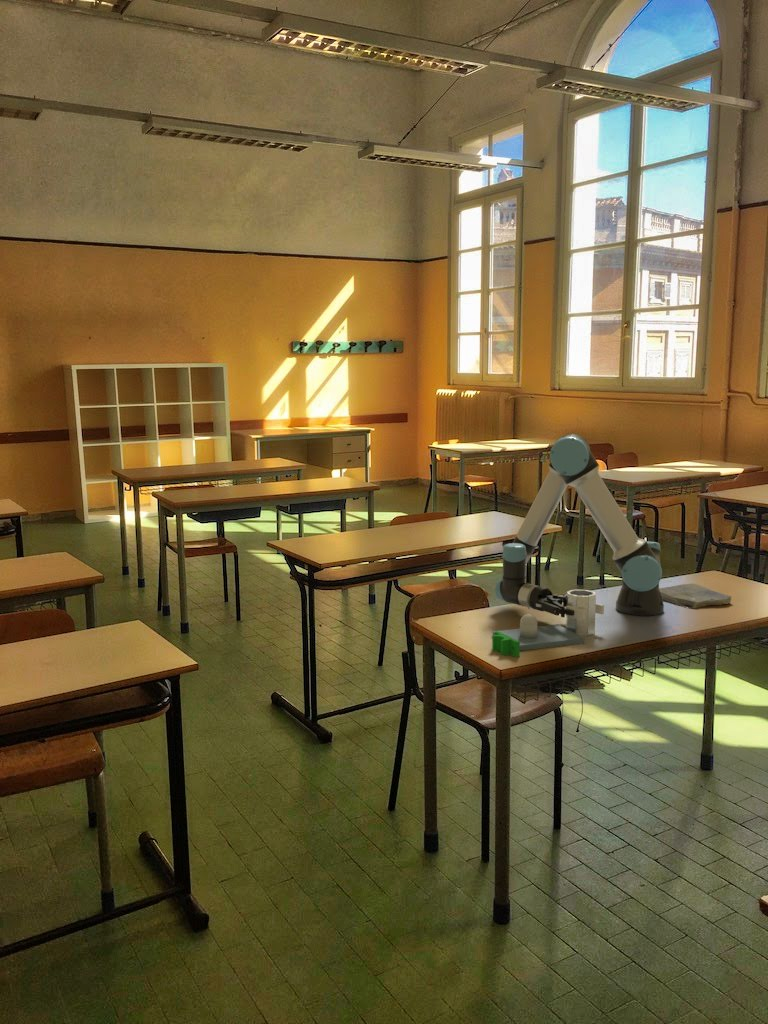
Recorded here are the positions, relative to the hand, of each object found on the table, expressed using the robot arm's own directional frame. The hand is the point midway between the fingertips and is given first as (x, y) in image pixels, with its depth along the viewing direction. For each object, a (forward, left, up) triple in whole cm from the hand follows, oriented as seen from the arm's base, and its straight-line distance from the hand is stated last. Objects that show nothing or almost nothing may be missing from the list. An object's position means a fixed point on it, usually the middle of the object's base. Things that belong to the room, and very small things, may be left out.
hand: (593, 612), depth 255 cm
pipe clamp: (+32, +5, -7) cm, 33 cm away
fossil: (-53, -23, -8) cm, 59 cm away
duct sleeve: (+2, -4, -7) cm, 8 cm away
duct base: (+18, -1, -7) cm, 19 cm away
